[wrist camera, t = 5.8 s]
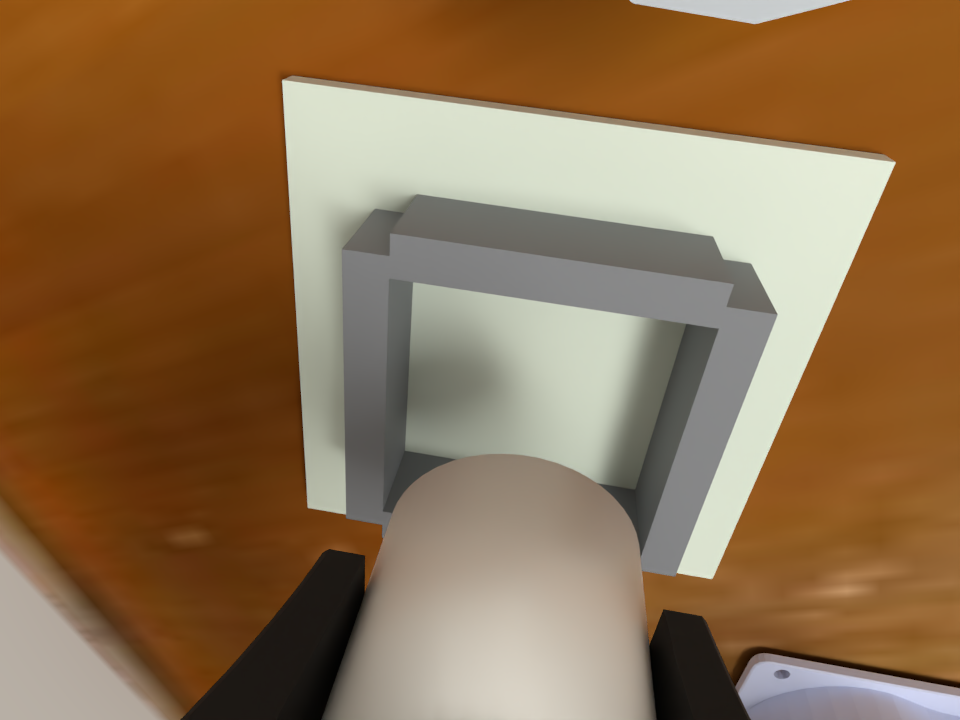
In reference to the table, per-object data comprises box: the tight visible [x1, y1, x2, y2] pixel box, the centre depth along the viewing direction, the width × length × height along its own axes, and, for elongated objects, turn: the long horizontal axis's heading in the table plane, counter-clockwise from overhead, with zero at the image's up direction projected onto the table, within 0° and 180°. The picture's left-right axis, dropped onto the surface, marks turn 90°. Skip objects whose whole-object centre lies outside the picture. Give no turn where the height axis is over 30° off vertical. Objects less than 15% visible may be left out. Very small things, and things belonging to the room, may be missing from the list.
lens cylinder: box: [321, 454, 657, 720], centre depth 10 cm, size 5×5×6 cm
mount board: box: [282, 76, 896, 579], centre depth 17 cm, size 13×13×3 cm
